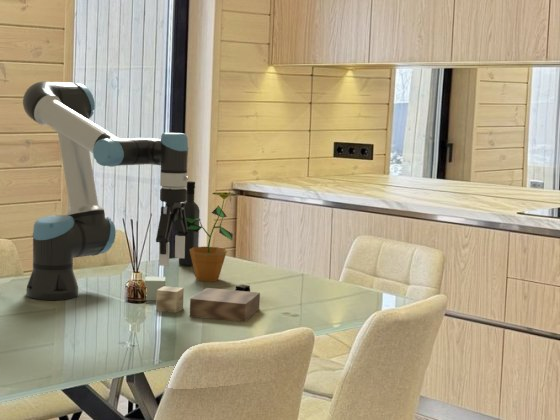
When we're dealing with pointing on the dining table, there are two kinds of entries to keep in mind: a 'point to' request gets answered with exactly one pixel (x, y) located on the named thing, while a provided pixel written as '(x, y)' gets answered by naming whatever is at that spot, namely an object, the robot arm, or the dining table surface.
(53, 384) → the dining table surface
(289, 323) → the dining table surface
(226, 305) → the walnut block
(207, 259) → the potted plant
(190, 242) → the wine bottle
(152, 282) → the sage cube
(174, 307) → the maple cube
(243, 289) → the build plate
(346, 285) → the dining table surface
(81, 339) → the dining table surface
